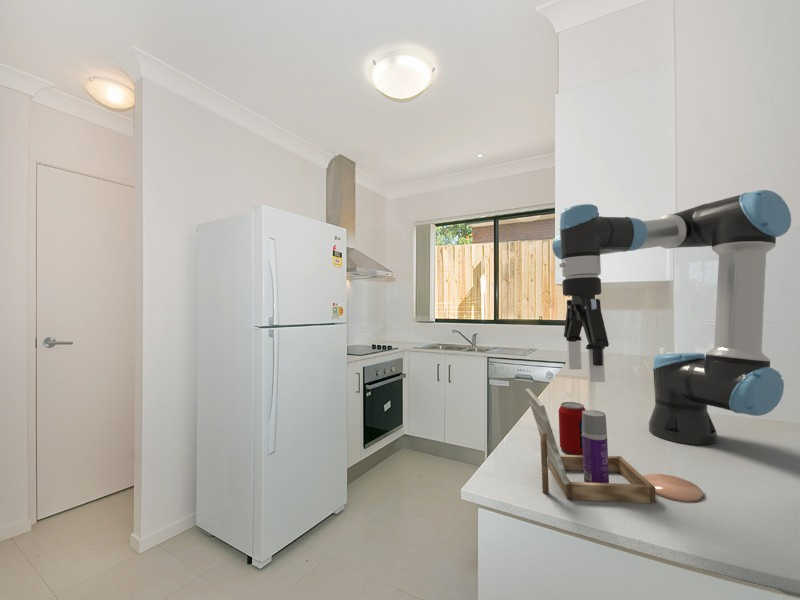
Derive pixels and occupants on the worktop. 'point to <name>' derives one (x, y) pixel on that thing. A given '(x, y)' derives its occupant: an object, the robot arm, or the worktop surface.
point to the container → (595, 447)
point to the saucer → (674, 488)
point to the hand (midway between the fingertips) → (584, 375)
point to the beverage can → (571, 427)
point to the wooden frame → (558, 464)
